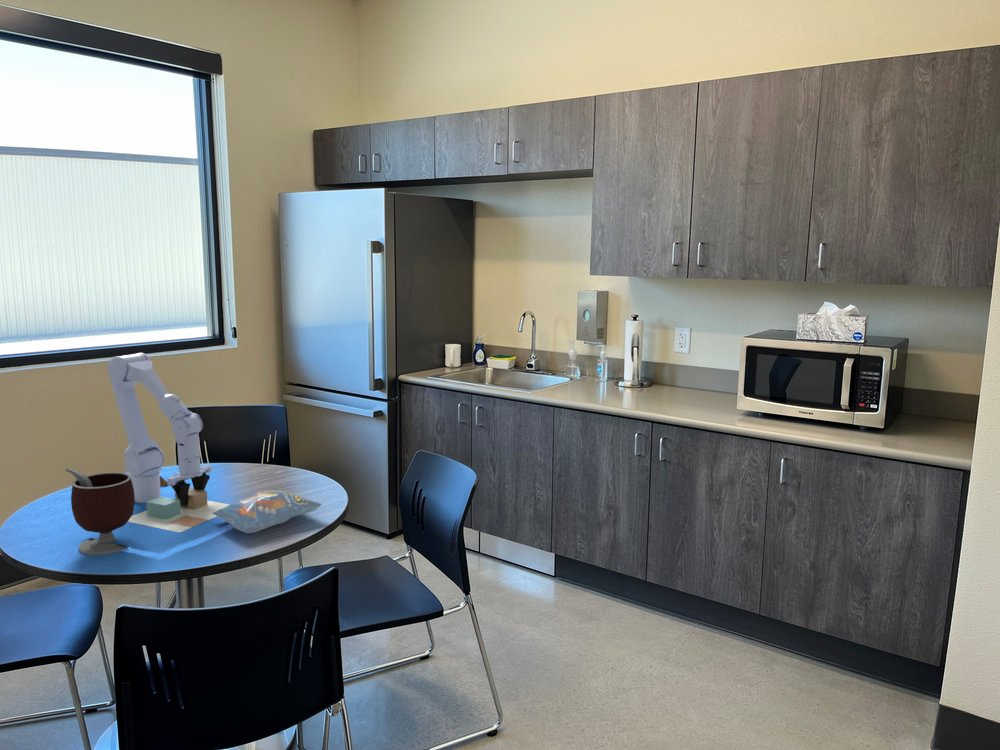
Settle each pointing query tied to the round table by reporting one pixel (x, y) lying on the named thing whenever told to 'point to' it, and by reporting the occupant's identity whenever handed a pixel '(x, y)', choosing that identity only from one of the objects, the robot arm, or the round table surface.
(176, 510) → the teal block
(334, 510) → the round table surface
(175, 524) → the baseplate
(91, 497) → the mate gourd
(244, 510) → the packet
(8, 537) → the round table surface
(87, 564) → the round table surface
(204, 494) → the walnut block
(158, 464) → the robot arm
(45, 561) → the round table surface
